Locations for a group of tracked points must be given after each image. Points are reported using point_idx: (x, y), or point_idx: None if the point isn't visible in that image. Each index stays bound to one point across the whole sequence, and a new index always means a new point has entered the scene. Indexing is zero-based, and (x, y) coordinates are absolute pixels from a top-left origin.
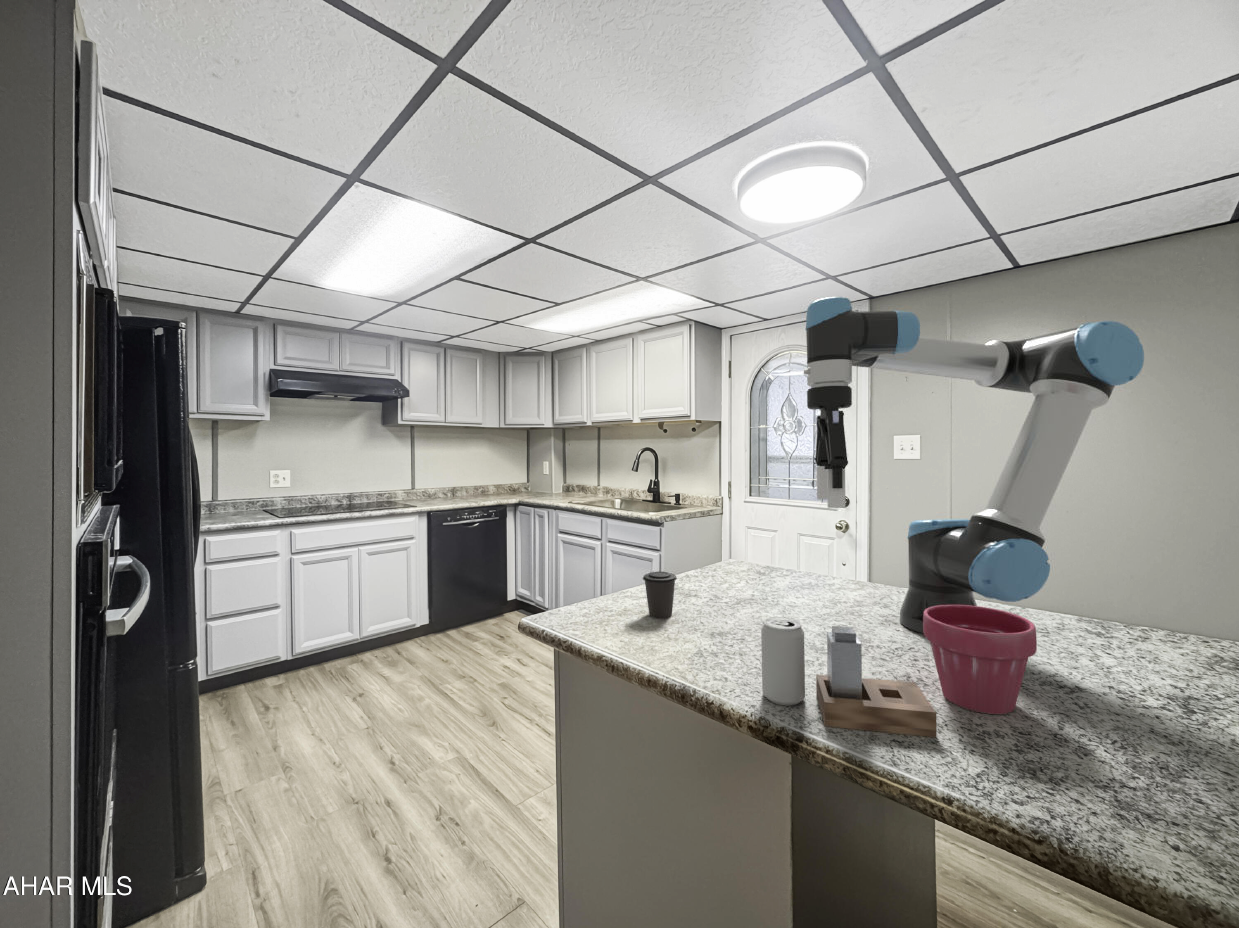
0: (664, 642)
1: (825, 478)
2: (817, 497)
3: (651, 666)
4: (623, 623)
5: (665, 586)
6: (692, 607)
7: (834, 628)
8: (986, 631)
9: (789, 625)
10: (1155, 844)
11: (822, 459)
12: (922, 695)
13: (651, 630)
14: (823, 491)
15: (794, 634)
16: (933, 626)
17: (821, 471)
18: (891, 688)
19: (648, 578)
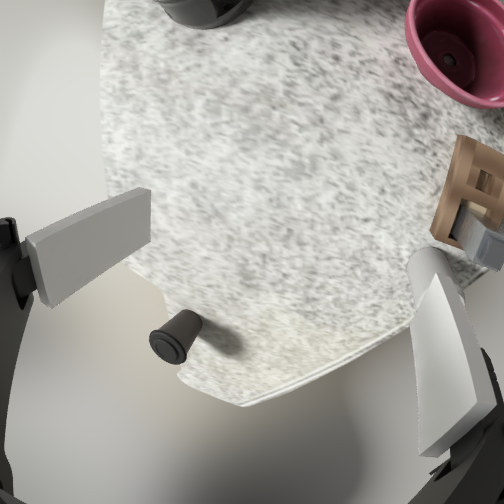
0: (273, 337)
1: (88, 248)
2: (143, 244)
3: (334, 358)
4: (220, 357)
5: (184, 343)
6: (160, 281)
7: (489, 264)
8: (426, 5)
9: (424, 289)
10: None
11: (18, 307)
12: (492, 150)
13: (238, 340)
14: (129, 233)
15: (464, 302)
16: (488, 107)
17: (64, 279)
18: (476, 173)
19: (179, 362)
